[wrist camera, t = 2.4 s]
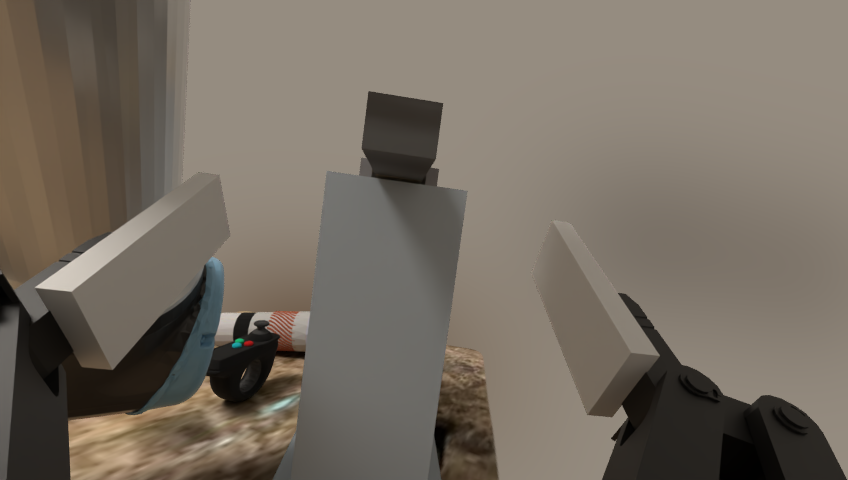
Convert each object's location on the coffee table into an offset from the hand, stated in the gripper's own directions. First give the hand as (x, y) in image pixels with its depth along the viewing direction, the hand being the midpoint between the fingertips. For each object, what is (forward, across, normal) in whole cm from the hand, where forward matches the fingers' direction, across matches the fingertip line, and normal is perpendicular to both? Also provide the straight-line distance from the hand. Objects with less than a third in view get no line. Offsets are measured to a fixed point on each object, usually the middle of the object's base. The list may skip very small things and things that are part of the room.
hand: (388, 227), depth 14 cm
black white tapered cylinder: (+31, -18, -49) cm, 61 cm away
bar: (+17, 0, -6) cm, 18 cm away
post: (+9, 0, -36) cm, 37 cm away
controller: (+16, -19, -40) cm, 47 cm away
